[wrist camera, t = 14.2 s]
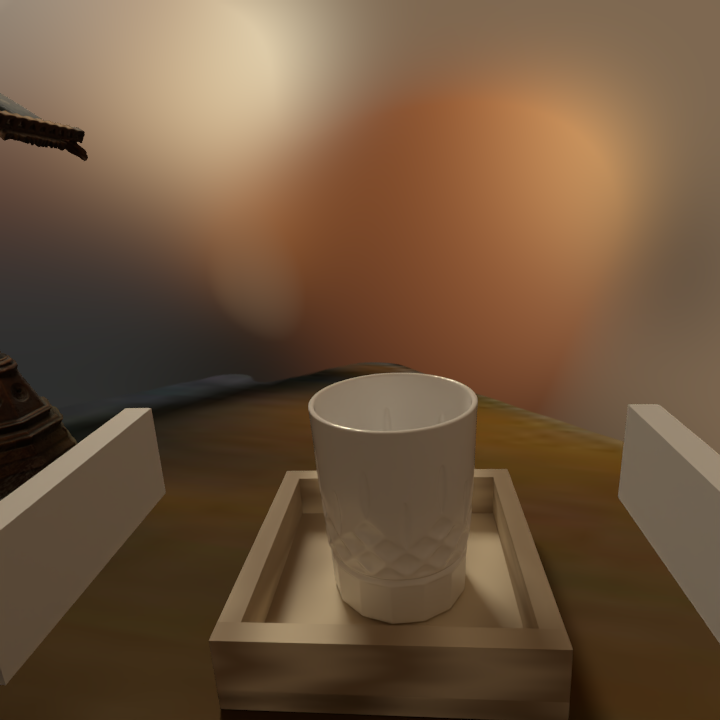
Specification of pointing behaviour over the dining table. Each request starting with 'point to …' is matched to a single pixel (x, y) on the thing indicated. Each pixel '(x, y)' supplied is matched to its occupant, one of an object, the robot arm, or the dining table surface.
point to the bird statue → (3, 381)
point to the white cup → (396, 490)
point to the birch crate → (393, 625)
